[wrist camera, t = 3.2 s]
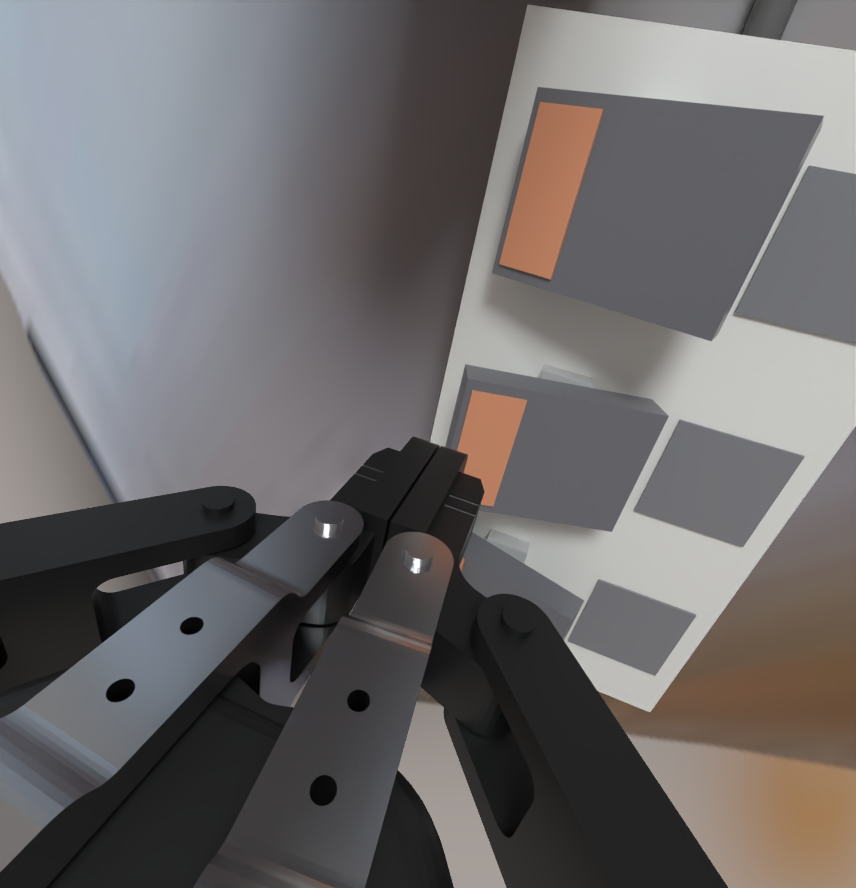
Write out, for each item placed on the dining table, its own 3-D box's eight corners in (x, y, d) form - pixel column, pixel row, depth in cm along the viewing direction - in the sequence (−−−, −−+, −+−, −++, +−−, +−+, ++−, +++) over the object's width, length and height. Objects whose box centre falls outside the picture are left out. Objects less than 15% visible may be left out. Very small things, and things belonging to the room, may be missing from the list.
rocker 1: (821, 128, 10) (823, 114, 9) (717, 334, 12) (710, 342, 11) (556, 99, 12) (536, 85, 11) (510, 272, 15) (490, 272, 14)
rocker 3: (584, 600, 16) (571, 621, 16) (545, 678, 19) (532, 701, 18) (445, 515, 19) (427, 529, 18) (425, 592, 21) (408, 608, 20)
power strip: (1198, -249, 10) (1607, -566, 6) (642, 640, 24) (651, 727, 20) (621, -267, 12) (632, -505, 8) (420, 555, 26) (387, 617, 22)
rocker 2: (652, 399, 15) (669, 417, 14) (600, 509, 17) (612, 533, 16) (465, 364, 14) (468, 380, 13) (436, 483, 16) (436, 505, 15)
